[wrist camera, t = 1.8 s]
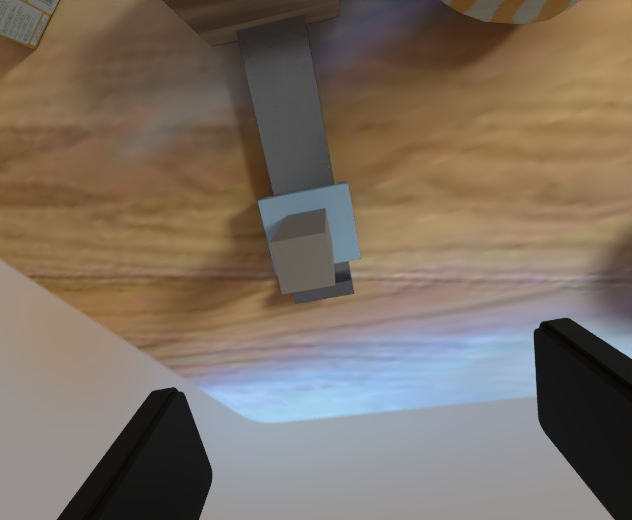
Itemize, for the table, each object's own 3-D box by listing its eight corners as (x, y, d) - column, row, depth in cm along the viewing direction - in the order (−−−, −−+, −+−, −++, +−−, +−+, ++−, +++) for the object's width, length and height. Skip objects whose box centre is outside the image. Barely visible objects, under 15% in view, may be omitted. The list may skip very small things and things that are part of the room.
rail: (242, 39, 28) (231, 23, 24) (305, 24, 27) (303, 6, 24) (298, 289, 33) (295, 303, 30) (351, 279, 33) (354, 293, 30)
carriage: (262, 197, 30) (225, 222, 19) (346, 180, 29) (358, 196, 18) (278, 265, 31) (253, 324, 20) (358, 251, 31) (375, 304, 20)
